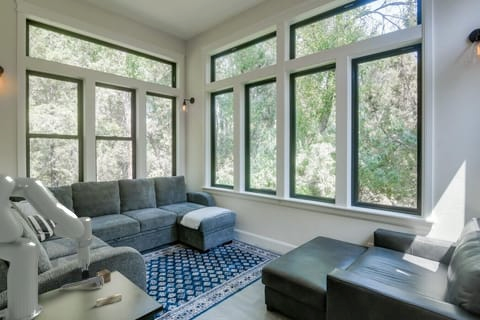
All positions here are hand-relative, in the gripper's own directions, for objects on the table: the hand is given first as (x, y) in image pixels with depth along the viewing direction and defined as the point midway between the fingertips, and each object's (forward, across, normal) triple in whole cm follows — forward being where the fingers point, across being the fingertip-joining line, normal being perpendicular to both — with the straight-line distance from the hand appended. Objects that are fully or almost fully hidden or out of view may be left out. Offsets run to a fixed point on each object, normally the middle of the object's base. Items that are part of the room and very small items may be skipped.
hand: (85, 277), depth 130 cm
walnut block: (+5, 0, +8) cm, 9 cm away
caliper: (+5, +2, -2) cm, 6 cm away
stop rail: (+4, +23, +9) cm, 25 cm away
